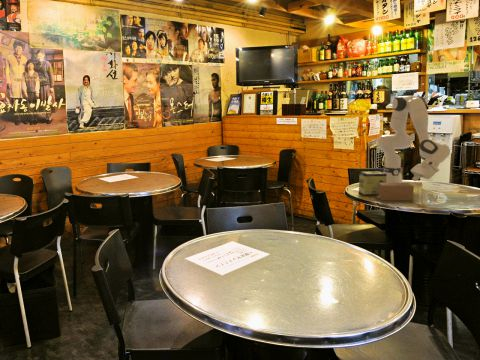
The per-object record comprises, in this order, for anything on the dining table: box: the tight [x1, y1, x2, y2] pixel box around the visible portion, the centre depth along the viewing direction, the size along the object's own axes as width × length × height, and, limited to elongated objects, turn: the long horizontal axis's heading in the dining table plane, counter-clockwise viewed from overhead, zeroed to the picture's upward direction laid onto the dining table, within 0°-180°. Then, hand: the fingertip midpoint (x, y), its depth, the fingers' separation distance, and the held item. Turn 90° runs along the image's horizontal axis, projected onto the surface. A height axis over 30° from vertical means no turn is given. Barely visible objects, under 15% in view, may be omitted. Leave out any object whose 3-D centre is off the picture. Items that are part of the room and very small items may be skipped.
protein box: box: [358, 170, 387, 197], centre depth 293 cm, size 10×16×16 cm
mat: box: [373, 197, 417, 204], centre depth 277 cm, size 13×22×1 cm, turn 95°
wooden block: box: [377, 182, 415, 201], centre depth 279 cm, size 10×10×20 cm
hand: (413, 180), depth 276 cm, fingers closed
